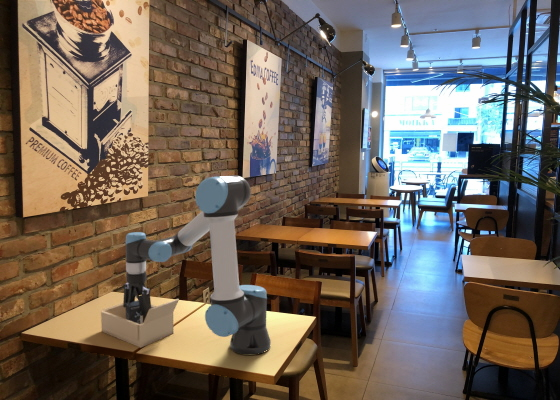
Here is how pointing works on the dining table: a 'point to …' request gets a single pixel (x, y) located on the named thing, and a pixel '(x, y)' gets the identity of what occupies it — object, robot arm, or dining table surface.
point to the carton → (135, 326)
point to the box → (133, 311)
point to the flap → (161, 311)
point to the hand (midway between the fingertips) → (137, 327)
